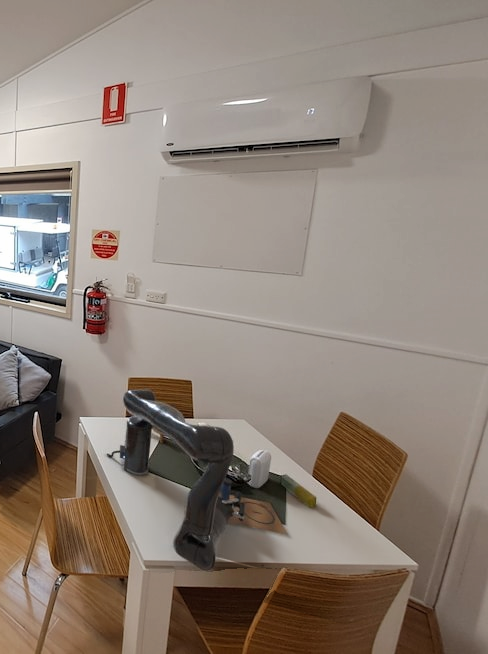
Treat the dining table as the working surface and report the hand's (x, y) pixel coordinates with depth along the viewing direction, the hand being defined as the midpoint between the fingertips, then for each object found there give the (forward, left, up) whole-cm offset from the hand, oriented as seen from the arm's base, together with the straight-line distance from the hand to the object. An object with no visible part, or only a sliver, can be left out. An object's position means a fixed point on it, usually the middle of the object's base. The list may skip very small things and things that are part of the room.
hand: (227, 490), depth 128 cm
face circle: (+10, +1, -7) cm, 12 cm away
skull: (+2, +43, -7) cm, 43 cm away
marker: (-1, -2, -7) cm, 7 cm away
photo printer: (+16, +19, -7) cm, 26 cm away
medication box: (+27, +15, -7) cm, 32 cm away
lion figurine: (-17, +38, -7) cm, 42 cm away
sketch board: (+6, 0, -7) cm, 9 cm away
